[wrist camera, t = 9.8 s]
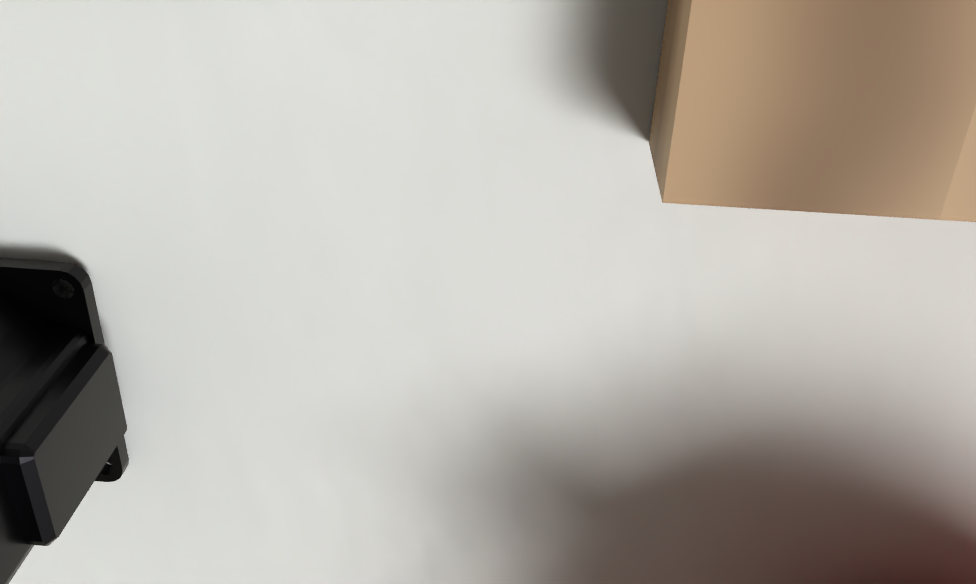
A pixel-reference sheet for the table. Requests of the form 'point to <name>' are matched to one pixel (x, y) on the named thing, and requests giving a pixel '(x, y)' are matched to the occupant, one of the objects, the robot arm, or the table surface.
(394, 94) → the table surface
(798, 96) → the board
